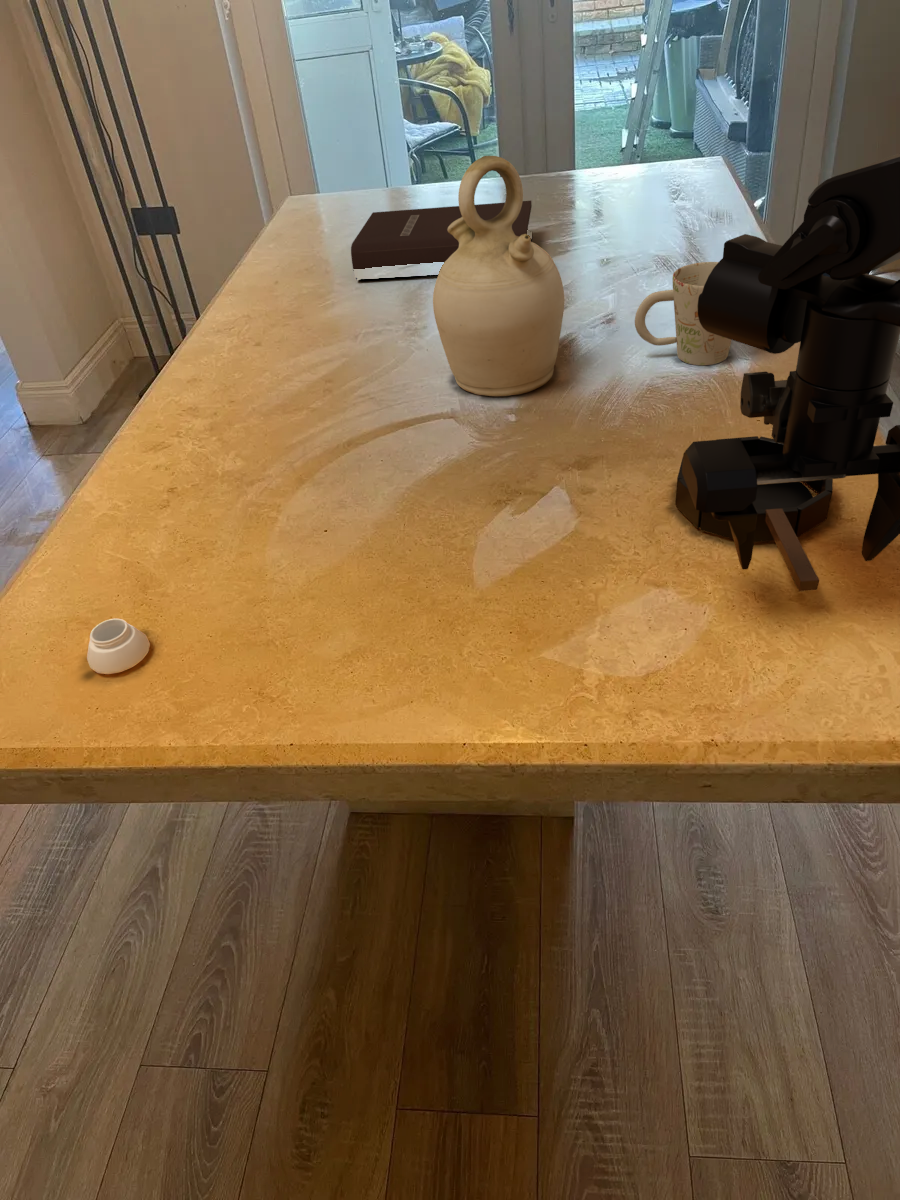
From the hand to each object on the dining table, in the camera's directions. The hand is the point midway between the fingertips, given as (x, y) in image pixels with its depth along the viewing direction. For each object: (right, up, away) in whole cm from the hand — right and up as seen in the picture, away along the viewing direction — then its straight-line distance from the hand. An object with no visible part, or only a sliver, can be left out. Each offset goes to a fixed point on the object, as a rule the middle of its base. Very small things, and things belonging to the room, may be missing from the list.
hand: (804, 562), depth 65 cm
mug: (+2, +27, +40) cm, 48 cm away
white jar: (-55, -8, +6) cm, 56 cm away
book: (-28, +55, +79) cm, 100 cm away
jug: (-21, +25, +41) cm, 52 cm away
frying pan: (+1, +3, +10) cm, 11 cm away
